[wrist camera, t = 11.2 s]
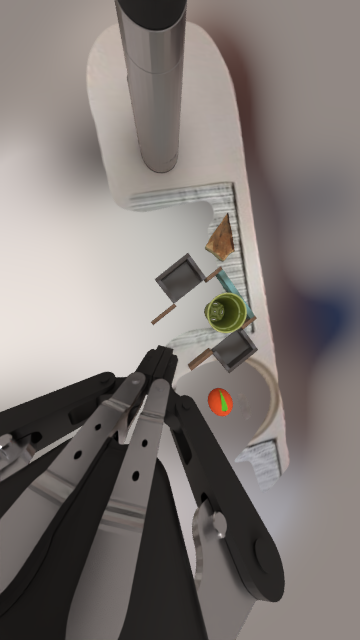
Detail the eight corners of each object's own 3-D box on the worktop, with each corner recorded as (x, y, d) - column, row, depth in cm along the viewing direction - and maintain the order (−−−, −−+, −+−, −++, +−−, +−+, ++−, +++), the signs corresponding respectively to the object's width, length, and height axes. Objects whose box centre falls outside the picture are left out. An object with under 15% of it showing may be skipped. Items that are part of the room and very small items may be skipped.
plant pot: (227, 328, 39) (244, 334, 31) (197, 326, 38) (205, 332, 30) (230, 297, 38) (248, 294, 30) (199, 294, 37) (209, 291, 29)
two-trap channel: (133, 298, 36) (130, 298, 33) (200, 245, 36) (202, 240, 33) (205, 385, 40) (208, 390, 38) (264, 337, 40) (271, 339, 38)
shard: (225, 216, 36) (228, 211, 35) (245, 233, 37) (249, 230, 36) (203, 248, 37) (204, 245, 35) (223, 265, 38) (226, 262, 36)
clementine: (202, 382, 40) (210, 398, 33) (224, 377, 41) (235, 392, 34) (206, 405, 41) (214, 426, 34) (227, 400, 42) (239, 420, 35)
